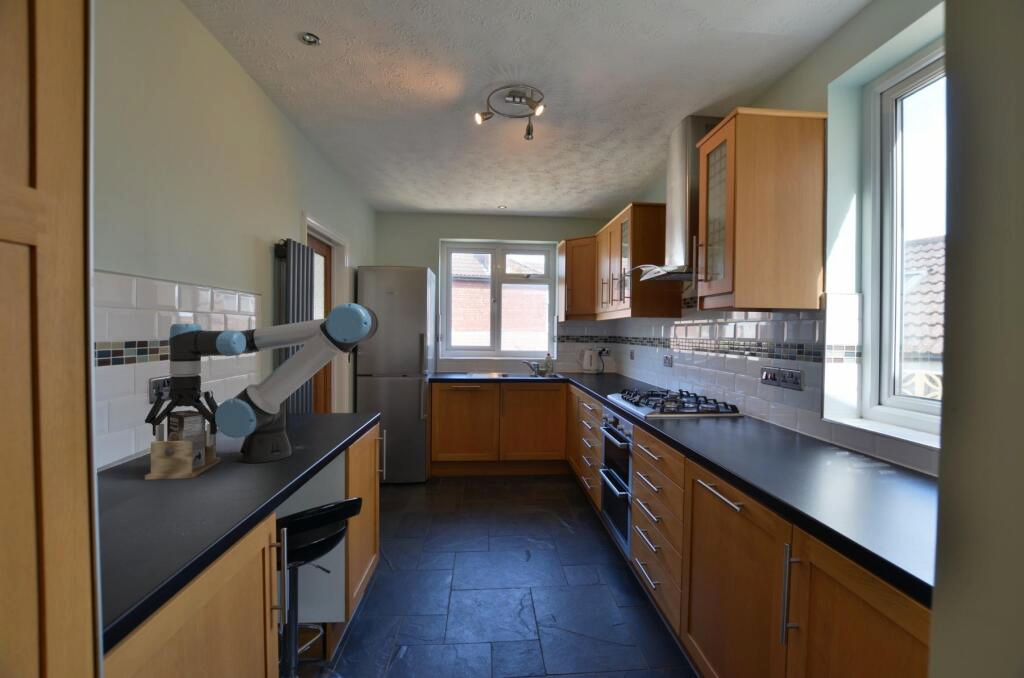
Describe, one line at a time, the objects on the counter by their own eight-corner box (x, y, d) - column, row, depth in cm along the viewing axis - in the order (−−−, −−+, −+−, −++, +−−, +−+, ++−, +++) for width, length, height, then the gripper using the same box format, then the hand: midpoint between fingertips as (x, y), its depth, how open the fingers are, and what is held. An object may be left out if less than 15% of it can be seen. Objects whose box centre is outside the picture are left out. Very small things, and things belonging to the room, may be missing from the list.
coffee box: (165, 466, 130) (165, 412, 129) (189, 460, 135) (190, 409, 135) (181, 471, 125) (182, 415, 125) (206, 465, 131) (206, 412, 131)
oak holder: (220, 461, 139) (220, 429, 139) (191, 478, 123) (192, 442, 123) (179, 462, 137) (179, 430, 137) (144, 479, 121) (144, 443, 121)
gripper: (236, 373, 136) (236, 441, 136) (147, 374, 131) (146, 443, 132) (225, 376, 128) (224, 447, 128) (129, 376, 124) (129, 450, 124)
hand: (185, 445), depth 130 cm, fingers open, 13 cm apart
